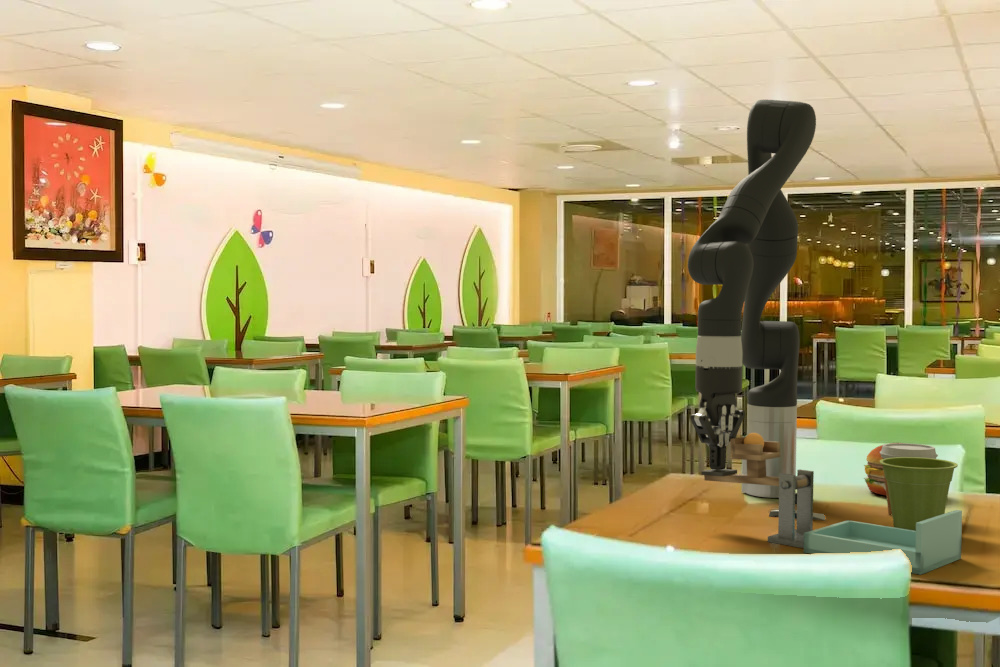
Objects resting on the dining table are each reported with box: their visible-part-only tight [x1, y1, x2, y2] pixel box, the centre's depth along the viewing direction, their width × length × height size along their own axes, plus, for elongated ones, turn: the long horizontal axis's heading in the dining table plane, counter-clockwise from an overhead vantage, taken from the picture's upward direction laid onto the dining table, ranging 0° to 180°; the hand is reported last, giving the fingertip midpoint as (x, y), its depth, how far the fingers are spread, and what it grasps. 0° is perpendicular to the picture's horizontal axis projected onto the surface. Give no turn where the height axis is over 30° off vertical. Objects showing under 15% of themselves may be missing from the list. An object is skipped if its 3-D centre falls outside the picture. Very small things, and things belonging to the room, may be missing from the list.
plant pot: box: [880, 457, 959, 531], centre depth 178 cm, size 12×12×11 cm
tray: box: [803, 509, 963, 576], centre depth 160 cm, size 18×14×7 cm
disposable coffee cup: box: [880, 442, 939, 515], centre depth 191 cm, size 10×10×12 cm
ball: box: [744, 433, 764, 447], centre depth 175 cm, size 3×3×3 cm
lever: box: [700, 436, 809, 491], centre depth 175 cm, size 17×6×8 cm, turn 45°
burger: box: [863, 442, 890, 497], centre depth 212 cm, size 14×14×10 cm
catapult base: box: [767, 469, 815, 549], centre depth 170 cm, size 6×8×11 cm
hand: (717, 468), depth 180 cm, fingers closed
